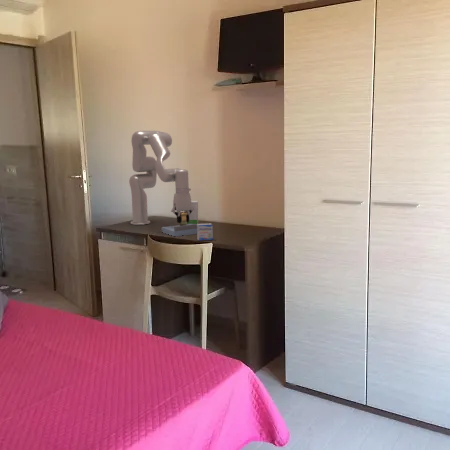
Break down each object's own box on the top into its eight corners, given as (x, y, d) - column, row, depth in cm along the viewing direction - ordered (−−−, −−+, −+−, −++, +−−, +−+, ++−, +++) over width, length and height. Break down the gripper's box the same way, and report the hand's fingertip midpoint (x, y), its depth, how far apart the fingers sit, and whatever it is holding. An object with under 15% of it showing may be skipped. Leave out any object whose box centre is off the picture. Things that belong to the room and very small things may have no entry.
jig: (161, 232, 303) (161, 223, 302) (191, 228, 314) (191, 219, 313) (174, 236, 290) (173, 227, 289) (205, 232, 300) (205, 223, 299)
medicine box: (198, 241, 278) (198, 225, 276) (197, 239, 282) (196, 223, 281) (213, 240, 280) (212, 224, 278) (211, 238, 284) (210, 222, 282)
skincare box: (185, 227, 318) (184, 202, 316) (184, 225, 325) (183, 200, 322) (198, 226, 320) (198, 201, 317) (197, 224, 326) (196, 200, 324)
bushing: (177, 225, 302) (176, 212, 300) (185, 225, 304) (184, 211, 303) (181, 227, 297) (181, 213, 296) (189, 226, 300) (189, 212, 299)
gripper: (192, 189, 305) (192, 220, 308) (166, 191, 296) (167, 223, 299) (198, 190, 299) (199, 221, 302) (171, 192, 290) (173, 224, 293)
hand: (183, 222), depth 301 cm, fingers closed on bushing, 4 cm apart
